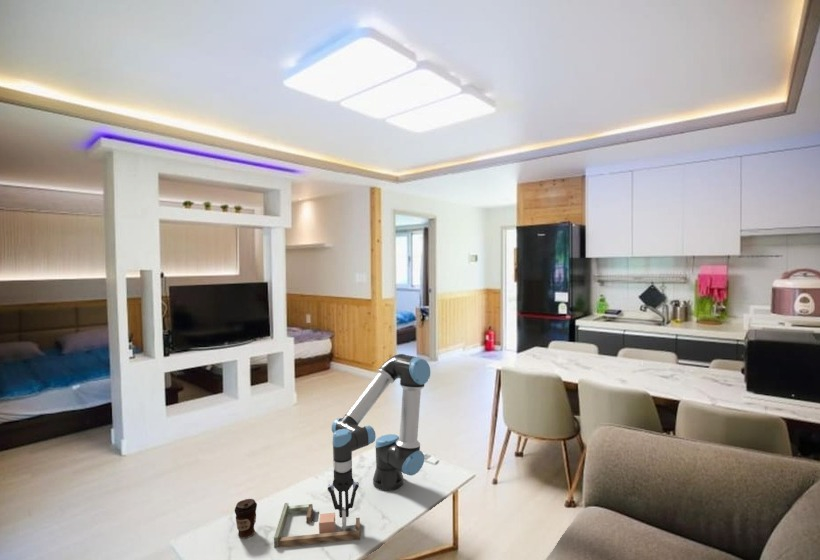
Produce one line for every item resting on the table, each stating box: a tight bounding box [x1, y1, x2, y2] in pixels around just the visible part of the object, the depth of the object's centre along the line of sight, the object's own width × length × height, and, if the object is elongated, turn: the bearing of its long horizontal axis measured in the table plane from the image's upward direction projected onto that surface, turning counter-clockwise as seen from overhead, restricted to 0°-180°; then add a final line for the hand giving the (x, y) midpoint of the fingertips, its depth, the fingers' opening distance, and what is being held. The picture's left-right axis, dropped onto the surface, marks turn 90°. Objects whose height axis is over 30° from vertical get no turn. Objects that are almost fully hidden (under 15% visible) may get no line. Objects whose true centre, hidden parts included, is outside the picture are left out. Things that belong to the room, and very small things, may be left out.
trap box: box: [273, 502, 361, 548], centre depth 173 cm, size 33×23×4 cm
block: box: [318, 512, 336, 534], centre depth 170 cm, size 6×6×5 cm
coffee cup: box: [234, 498, 258, 539], centre depth 167 cm, size 9×8×13 cm
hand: (344, 524), depth 170 cm, fingers closed
